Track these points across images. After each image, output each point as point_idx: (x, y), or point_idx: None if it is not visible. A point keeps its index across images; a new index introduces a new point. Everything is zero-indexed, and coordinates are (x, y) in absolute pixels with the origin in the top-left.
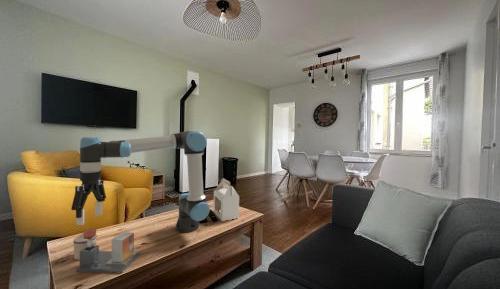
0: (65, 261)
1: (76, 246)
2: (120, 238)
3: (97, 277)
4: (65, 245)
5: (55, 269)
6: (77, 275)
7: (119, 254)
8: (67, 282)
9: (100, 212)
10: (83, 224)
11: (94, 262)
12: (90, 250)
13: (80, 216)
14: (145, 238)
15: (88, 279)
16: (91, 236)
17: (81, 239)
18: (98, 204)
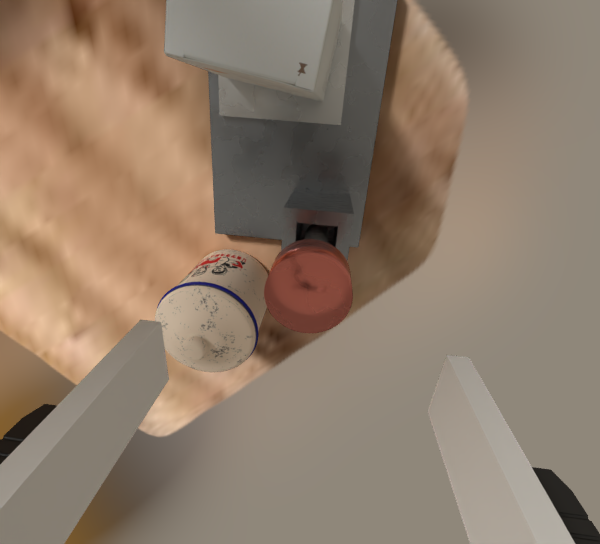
0: (280, 326)
1: (258, 330)
2: (303, 2)
3: (414, 119)
4: (174, 390)
5: None
6: (383, 223)
7: (338, 26)
8: (426, 233)
9: (139, 352)
10: (458, 357)
11: (325, 192)
12: (343, 223)
13: (543, 487)
14: (21, 43)
15: (422, 155)
16: (339, 254)
17: (238, 334)
18: (54, 498)
